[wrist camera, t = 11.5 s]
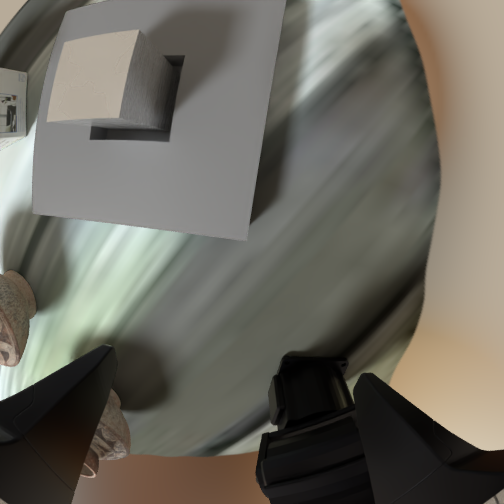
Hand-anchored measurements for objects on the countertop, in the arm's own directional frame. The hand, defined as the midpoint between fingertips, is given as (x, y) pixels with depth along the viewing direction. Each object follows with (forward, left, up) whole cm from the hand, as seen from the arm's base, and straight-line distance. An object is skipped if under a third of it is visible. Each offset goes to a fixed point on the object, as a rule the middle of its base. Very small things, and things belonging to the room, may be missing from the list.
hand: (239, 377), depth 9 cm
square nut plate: (+8, -10, -12) cm, 18 cm away
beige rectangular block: (+8, -10, -11) cm, 17 cm away
